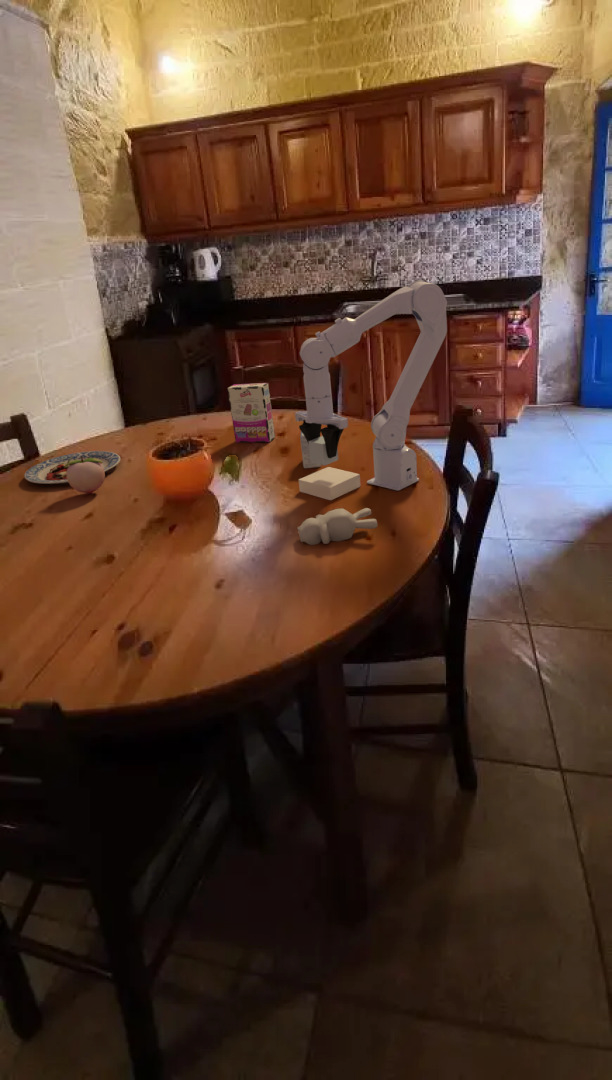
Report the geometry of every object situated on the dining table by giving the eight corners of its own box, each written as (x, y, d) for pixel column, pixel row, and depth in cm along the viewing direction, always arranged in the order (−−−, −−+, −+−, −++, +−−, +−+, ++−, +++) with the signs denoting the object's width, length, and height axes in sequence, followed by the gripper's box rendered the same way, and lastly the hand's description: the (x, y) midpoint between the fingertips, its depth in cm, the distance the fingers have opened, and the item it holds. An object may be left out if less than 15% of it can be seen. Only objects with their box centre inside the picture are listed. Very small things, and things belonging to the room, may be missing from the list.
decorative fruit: (73, 503, 161) (62, 464, 156) (70, 493, 168) (60, 455, 163) (111, 495, 164) (102, 456, 159) (107, 485, 171) (99, 448, 166)
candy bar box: (275, 437, 195) (269, 382, 188) (270, 442, 191) (263, 386, 184) (241, 437, 199) (233, 383, 192) (234, 442, 194) (226, 387, 188)
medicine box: (320, 467, 167) (317, 434, 164) (303, 469, 168) (299, 436, 164) (320, 457, 175) (317, 425, 171) (303, 459, 175) (300, 427, 171)
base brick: (360, 486, 153) (359, 474, 151) (330, 500, 147) (329, 487, 145) (329, 478, 159) (328, 466, 158) (299, 491, 153) (298, 479, 152)
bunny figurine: (294, 514, 132) (366, 496, 132) (299, 536, 134) (371, 519, 134) (298, 533, 123) (376, 514, 123) (304, 557, 125) (381, 538, 125)
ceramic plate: (127, 476, 176) (125, 466, 175) (26, 497, 169) (23, 486, 167) (115, 452, 198) (113, 442, 197) (26, 470, 191) (23, 460, 189)
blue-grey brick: (338, 459, 150) (336, 438, 148) (324, 465, 147) (322, 444, 145) (324, 456, 153) (322, 435, 151) (310, 462, 150) (308, 441, 148)
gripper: (282, 396, 146) (289, 455, 152) (329, 403, 136) (335, 465, 142) (305, 389, 150) (311, 446, 156) (352, 395, 141) (356, 456, 146)
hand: (324, 455), depth 149 cm, fingers closed on blue-grey brick, 4 cm apart
